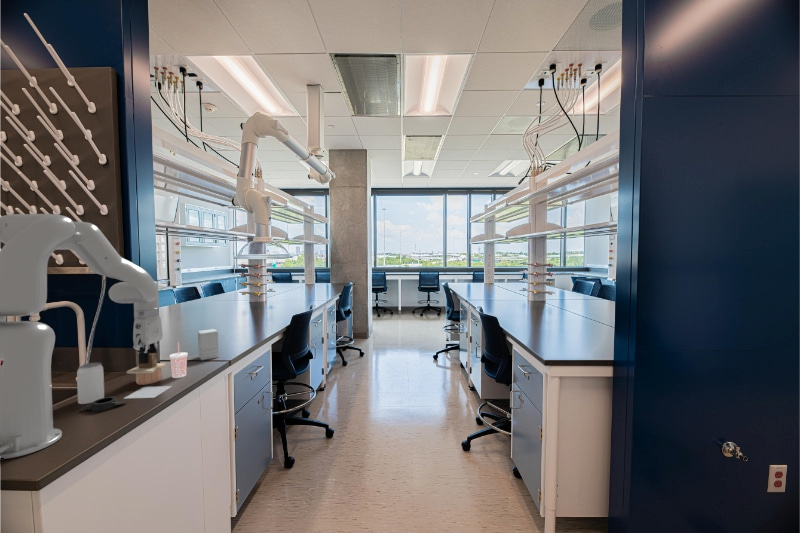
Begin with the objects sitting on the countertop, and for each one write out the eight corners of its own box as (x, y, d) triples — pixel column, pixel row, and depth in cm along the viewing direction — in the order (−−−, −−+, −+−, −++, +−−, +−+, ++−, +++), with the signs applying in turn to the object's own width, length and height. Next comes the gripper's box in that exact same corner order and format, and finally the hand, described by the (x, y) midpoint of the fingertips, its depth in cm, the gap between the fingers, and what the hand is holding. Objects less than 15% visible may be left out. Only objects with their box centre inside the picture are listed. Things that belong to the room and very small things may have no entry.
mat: (154, 398, 114) (154, 397, 114) (123, 399, 113) (123, 398, 113) (172, 387, 124) (172, 386, 124) (143, 388, 123) (143, 386, 123)
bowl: (152, 385, 125) (152, 372, 125) (131, 386, 125) (130, 372, 125) (165, 378, 133) (165, 365, 133) (145, 378, 132) (145, 366, 132)
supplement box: (215, 354, 165) (214, 328, 165) (218, 357, 160) (218, 330, 159) (198, 357, 161) (197, 330, 160) (200, 360, 155) (200, 333, 155)
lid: (152, 372, 124) (151, 357, 124) (126, 373, 124) (126, 357, 124) (167, 365, 133) (167, 350, 133) (144, 365, 133) (143, 350, 133)
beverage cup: (167, 380, 131) (166, 344, 130) (173, 374, 137) (172, 340, 136) (185, 378, 132) (184, 343, 132) (190, 373, 138) (189, 339, 138)
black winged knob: (102, 403, 111) (101, 395, 111) (130, 404, 110) (130, 395, 110) (77, 414, 103) (77, 405, 103) (107, 415, 102) (107, 406, 102)
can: (88, 405, 109) (87, 368, 108) (72, 404, 110) (71, 367, 109) (109, 397, 115) (108, 362, 114) (94, 396, 116) (93, 361, 116)
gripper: (141, 317, 120) (143, 368, 121) (170, 309, 137) (171, 354, 137) (119, 317, 119) (121, 369, 120) (151, 310, 136) (152, 355, 137)
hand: (148, 360), depth 129 cm, fingers open, 3 cm apart
